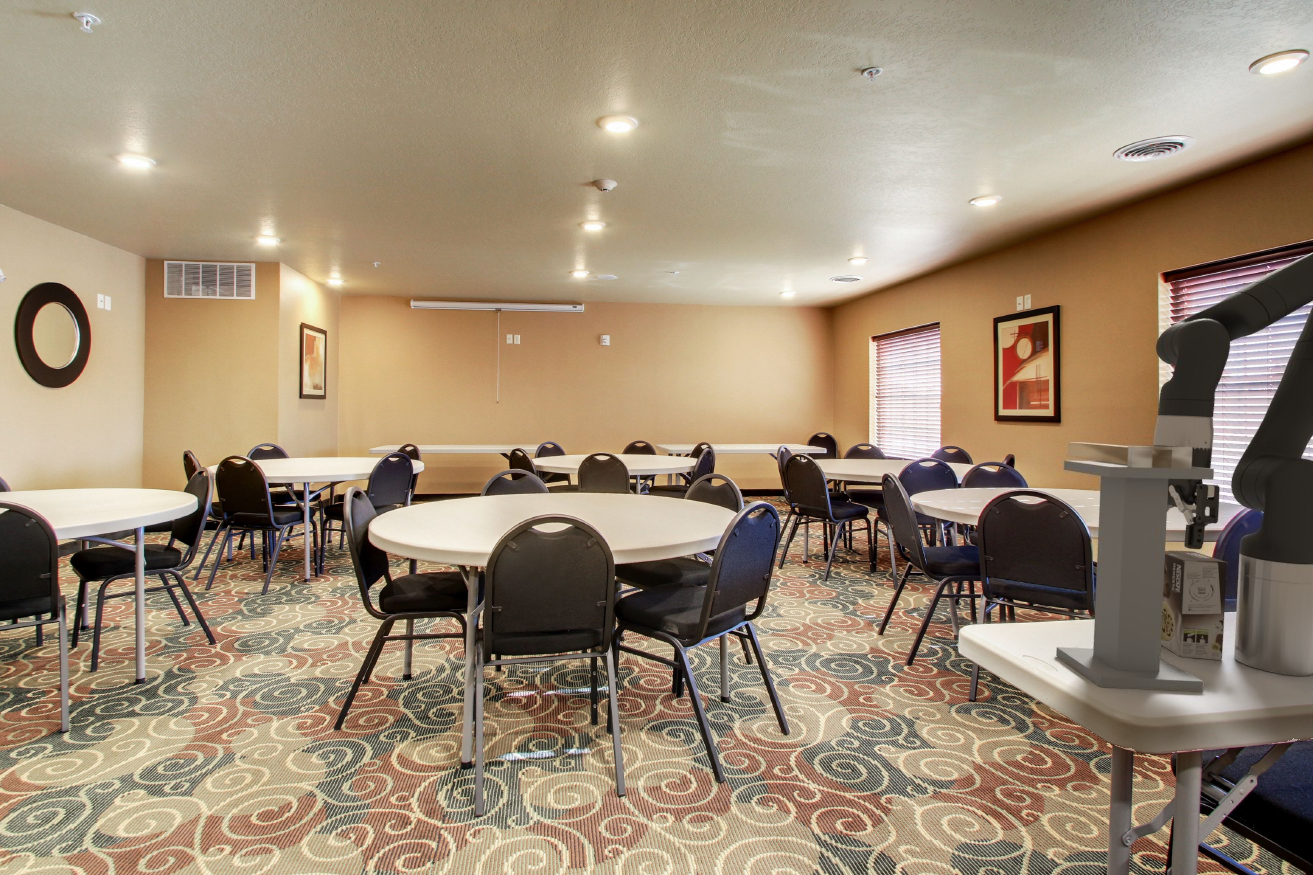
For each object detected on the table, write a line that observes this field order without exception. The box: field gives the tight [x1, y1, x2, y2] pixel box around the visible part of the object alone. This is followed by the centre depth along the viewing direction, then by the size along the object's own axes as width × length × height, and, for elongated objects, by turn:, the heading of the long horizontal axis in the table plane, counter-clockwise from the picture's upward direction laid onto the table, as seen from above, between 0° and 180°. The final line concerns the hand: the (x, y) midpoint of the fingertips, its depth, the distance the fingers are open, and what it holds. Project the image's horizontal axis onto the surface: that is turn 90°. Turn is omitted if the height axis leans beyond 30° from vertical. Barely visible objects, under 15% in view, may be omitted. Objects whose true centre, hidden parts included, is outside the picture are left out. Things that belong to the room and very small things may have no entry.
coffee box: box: [1161, 550, 1228, 661], centre depth 111 cm, size 9×6×16 cm
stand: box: [1055, 460, 1215, 693], centre depth 100 cm, size 14×12×32 cm
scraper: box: [1066, 441, 1192, 469], centre depth 104 cm, size 8×22×3 cm, turn 176°
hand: (1173, 543), depth 107 cm, fingers open, 8 cm apart
